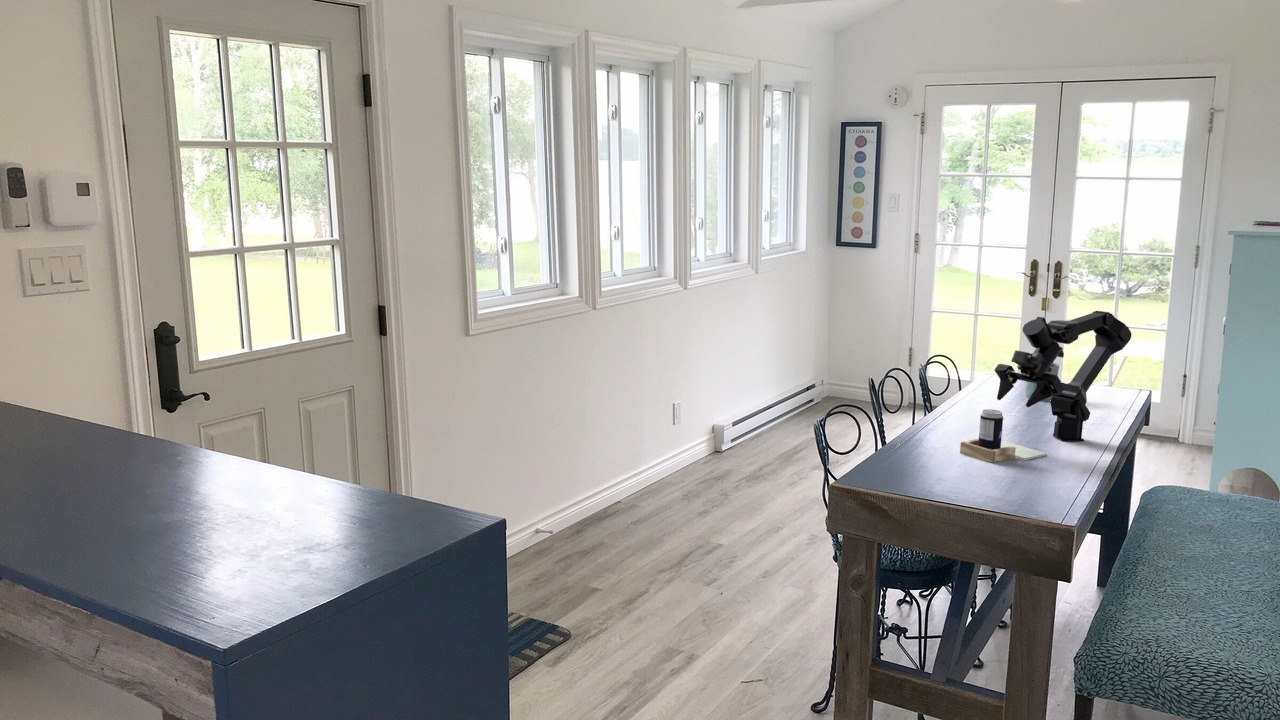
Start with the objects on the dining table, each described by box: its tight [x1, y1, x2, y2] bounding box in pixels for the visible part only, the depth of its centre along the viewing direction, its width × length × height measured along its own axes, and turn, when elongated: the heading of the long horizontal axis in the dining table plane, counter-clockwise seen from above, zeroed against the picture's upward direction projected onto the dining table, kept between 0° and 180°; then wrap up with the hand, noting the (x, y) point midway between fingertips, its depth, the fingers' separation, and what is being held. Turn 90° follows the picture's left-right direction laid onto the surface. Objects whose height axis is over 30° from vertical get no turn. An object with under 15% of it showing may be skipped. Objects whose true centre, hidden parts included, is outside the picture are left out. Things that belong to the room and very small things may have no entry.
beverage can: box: [978, 409, 1004, 450], centre depth 261 cm, size 6×6×12 cm
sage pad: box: [1001, 440, 1048, 461], centre depth 267 cm, size 9×16×1 cm, turn 32°
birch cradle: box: [959, 438, 1016, 463], centre depth 261 cm, size 9×10×3 cm
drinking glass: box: [1025, 362, 1060, 402], centre depth 329 cm, size 10×10×12 cm
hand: (1012, 402), depth 264 cm, fingers open, 9 cm apart
